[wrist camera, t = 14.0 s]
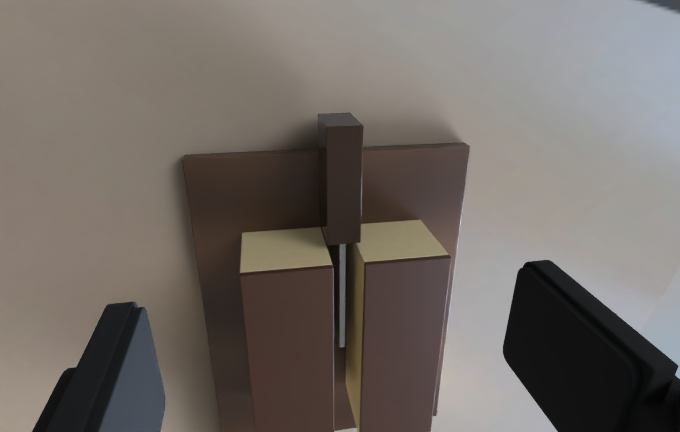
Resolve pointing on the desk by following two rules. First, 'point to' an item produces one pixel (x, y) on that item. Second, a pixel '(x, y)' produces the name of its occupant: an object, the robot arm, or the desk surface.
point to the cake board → (294, 213)
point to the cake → (361, 327)
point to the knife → (340, 197)
